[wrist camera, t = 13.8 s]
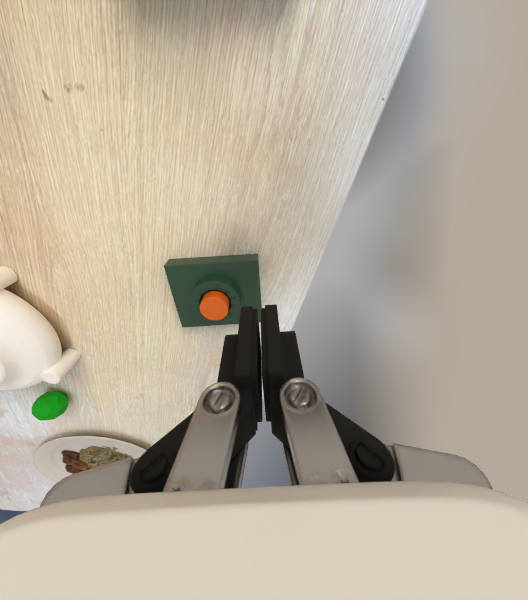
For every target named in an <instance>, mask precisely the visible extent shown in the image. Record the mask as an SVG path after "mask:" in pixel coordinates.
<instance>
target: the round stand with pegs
mask: <svg viewBox="0 0 528 600" xmlns="http://www.w3.org/2000/svg"><path fill="white" fill-rule="evenodd" d="M17 280H18V277H17V274H16V273H15V272H14V271H13V270H12V269H10V268H8V267H5V266H0V391H10V390H19V389H25V388H28V387H31V386H35V385H37V384H39V383H41V382H43V381H46V382H48V383H51V384H57V383H59V382H60V381H61V380H62V378H63V377H64V376H65V375H66V374H67V372H68V371H69V370H70V369H71V368H72V366H73V365H74V364H75V363H76V362H77V360H78V359H79V358H80V353H79V352H78V351H76V350H74V349H66V350H65V351H64V352H63V353H62V349H61V343H60V340H59V337H58V335H57V333H56V331H55V330H54V328H53V327H52V325H51V324H50V323H49V322H48V320H47V319H46V318H45V317H44V316H43V315H42V314H41V313H40V312H39V311H38V310H36V309H35V308H34V307H33V306H31V305H30V304H29V303H27V302H26V301H24V300H23V299H21V298H20V297H18V296H17V295H15V294H13V293H11V292H9V291H8V290H6V289H4V288H5V287H7V286H9V285H11V284H13V283H14V282H16V281H17Z"/></svg>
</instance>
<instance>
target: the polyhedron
mask: <svg viewBox="0 0 528 600" xmlns="http://www.w3.org/2000/svg"><path fill="white" fill-rule="evenodd" d="M67 407H68V397H67V396H66V395H64V394H63V393H62V392H47V393H45V394H43V395H41V396H40V397H39V398H37V400H36V401H35V403H34V404H33V406H32V414H33V415H34V416H35V417H36V418H37V419H39V420H51V419H55V418H57V417H58V416H60V415H61V414H63V413H64V412H65V410H66V409H67Z"/></svg>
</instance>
